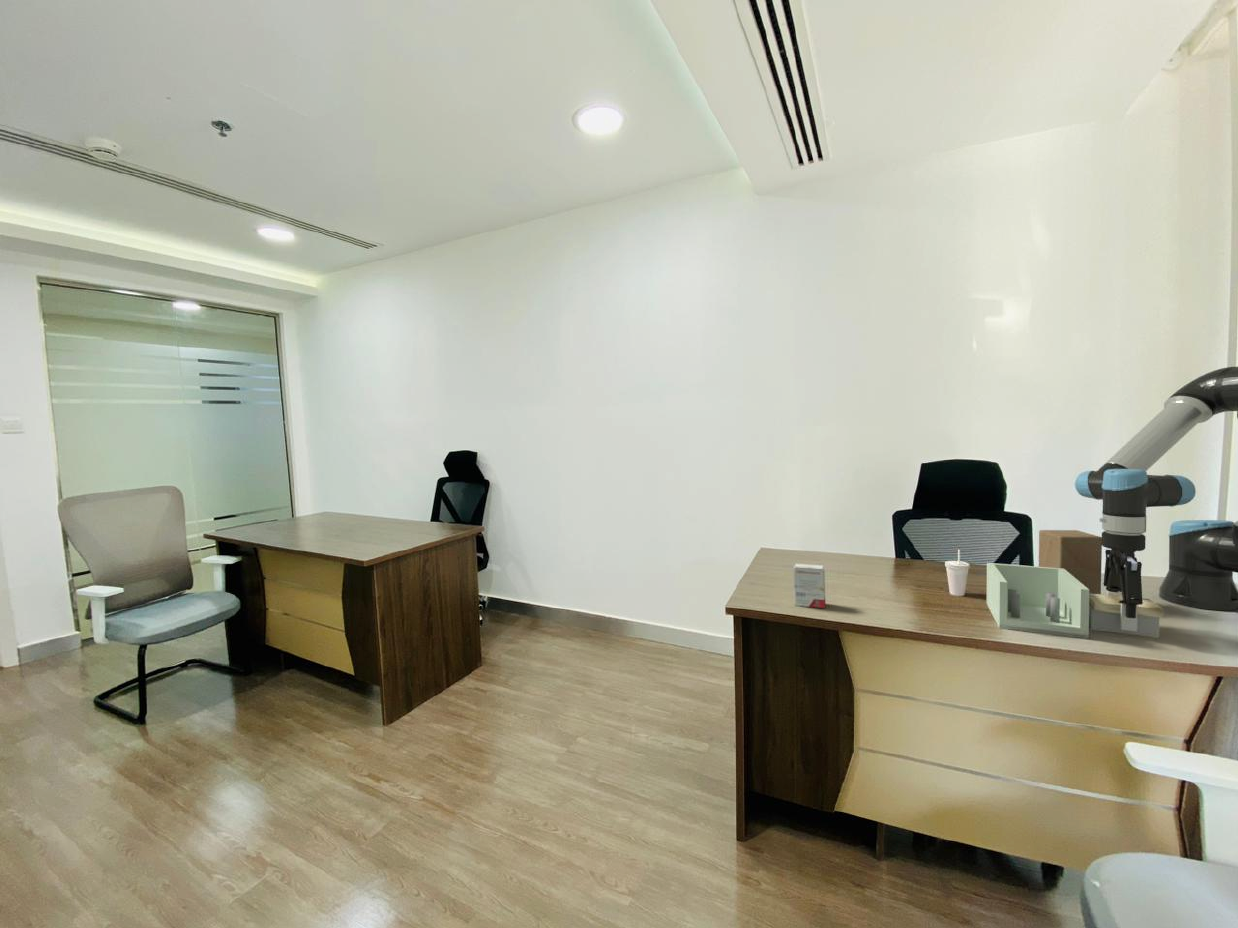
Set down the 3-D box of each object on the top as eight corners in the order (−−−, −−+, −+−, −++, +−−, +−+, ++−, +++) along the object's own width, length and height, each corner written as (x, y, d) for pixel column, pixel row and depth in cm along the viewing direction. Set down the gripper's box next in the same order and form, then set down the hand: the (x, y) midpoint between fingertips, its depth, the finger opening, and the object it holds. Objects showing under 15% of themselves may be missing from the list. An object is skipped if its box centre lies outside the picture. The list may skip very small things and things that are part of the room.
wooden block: (1101, 608, 137) (1103, 536, 136) (1059, 606, 139) (1060, 536, 138) (1076, 596, 147) (1077, 529, 146) (1037, 595, 149) (1038, 529, 148)
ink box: (825, 603, 148) (825, 564, 148) (825, 608, 144) (824, 569, 143) (795, 600, 152) (794, 562, 151) (793, 605, 147) (793, 566, 147)
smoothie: (962, 598, 148) (962, 552, 147) (940, 593, 154) (940, 548, 153) (974, 594, 151) (974, 549, 150) (952, 589, 157) (952, 545, 156)
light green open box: (1063, 611, 135) (1063, 568, 135) (1088, 639, 118) (1089, 589, 117) (986, 603, 143) (986, 562, 143) (999, 627, 126) (999, 581, 125)
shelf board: (1148, 606, 122) (1148, 598, 122) (1163, 617, 115) (1163, 609, 115) (1083, 600, 128) (1083, 592, 128) (1094, 610, 121) (1094, 602, 121)
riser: (1151, 631, 121) (1151, 609, 121) (1158, 637, 117) (1159, 614, 117) (1085, 623, 127) (1086, 602, 126) (1091, 629, 123) (1091, 607, 123)
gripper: (1088, 524, 132) (1086, 607, 133) (1119, 539, 113) (1117, 636, 115) (1126, 525, 128) (1124, 611, 129) (1165, 542, 110) (1162, 642, 111)
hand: (1121, 623), depth 122 cm, fingers closed on shelf board, 8 cm apart
